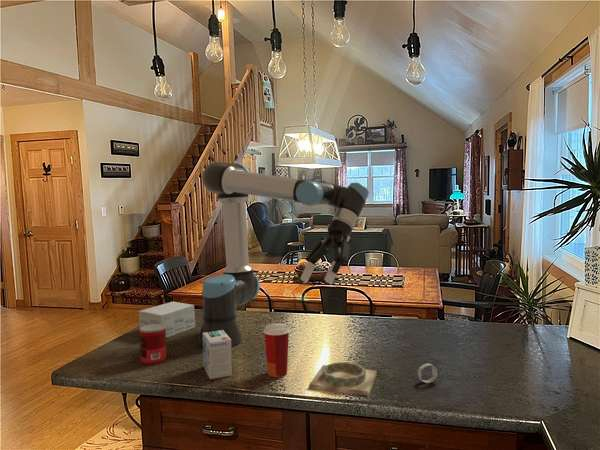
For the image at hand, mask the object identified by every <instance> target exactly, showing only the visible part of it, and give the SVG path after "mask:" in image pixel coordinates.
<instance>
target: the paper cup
mask: <svg viewBox="0 0 600 450" xmlns="http://www.w3.org/2000/svg"><path fill="white" fill-rule="evenodd" d="M262 333H263V334H264V345H265V357H266V358H265V359H266V367H267V368H266V369H267V374H268V376H269V377H271V378H283V377H285V376H286V375H287V373H288V361H289V360H288V357H289V356H288V355H289V338H290V337H289V336H290V334H289V333H291V332H290V328H289V326H288V324H285V323H270V324H267V325H265V327H264V328H263V330H262Z"/></svg>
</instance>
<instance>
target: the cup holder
mask: <svg viewBox="0 0 600 450" xmlns="http://www.w3.org/2000/svg"><path fill="white" fill-rule="evenodd" d="M377 373H378V371H377V370H374V369H366V368H364V367H363V366H362V365H360V364H357V363H353V362H345V361H342V362H339V361H338V362H333V363H330V364H326V365H325V364H322V365H321V367H320V368H319V370H318V371H317V372H316V374H315V375H314V377H313V378H312V380H311V381H310V383H309V386H308V387H309V389H311V390H318V391H326V392H335V393H341V394H342V393H345V394H350V395H359V396H365V397H366V396H367V397H369V396H370V393H371V391H372V390H373V389H372V388H373V386H374V383H375V380H376V377H377Z"/></svg>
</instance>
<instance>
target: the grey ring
mask: <svg viewBox="0 0 600 450" xmlns="http://www.w3.org/2000/svg"><path fill="white" fill-rule="evenodd" d="M427 367H431V372H432V377H431V378H429V379H427V380H425V379H422V375H423V374H422V370H424V369H425V368H427ZM417 369H418V370H417V377H418V379H419V380H420V381H421V382H423V383H425V384H431V383H433V382H434V381H435V380H436V378H438V370H437V368H436V367H435V366H434V365H433V364H431V363H424V364H422V365H421V366H419V368H417Z"/></svg>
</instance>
